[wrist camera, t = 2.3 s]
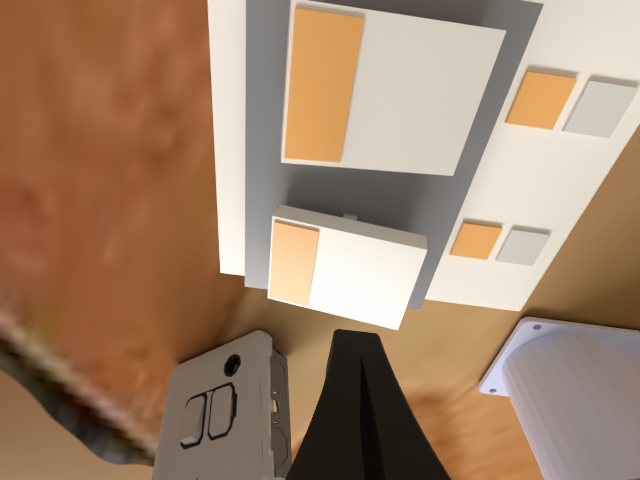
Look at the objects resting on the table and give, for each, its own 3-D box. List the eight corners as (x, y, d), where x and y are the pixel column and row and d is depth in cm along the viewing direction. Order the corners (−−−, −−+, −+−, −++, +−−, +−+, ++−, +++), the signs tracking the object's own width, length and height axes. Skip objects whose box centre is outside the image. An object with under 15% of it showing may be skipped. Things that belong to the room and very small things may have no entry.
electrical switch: (265, 322, 24) (241, 477, 17) (307, 358, 27) (303, 504, 20) (172, 364, 27) (119, 508, 20) (218, 391, 30) (186, 528, 23)
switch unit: (703, -17, 13) (833, -24, 9) (513, 299, 22) (544, 353, 18) (212, -94, 12) (163, -132, 9) (225, 262, 21) (203, 310, 18)
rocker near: (488, 28, 10) (508, 31, 10) (441, 164, 13) (454, 177, 12) (290, -3, 10) (291, -3, 9) (280, 151, 12) (281, 163, 11)
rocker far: (426, 235, 14) (427, 251, 13) (398, 314, 16) (397, 331, 15) (279, 204, 14) (271, 217, 13) (274, 284, 17) (266, 299, 16)
